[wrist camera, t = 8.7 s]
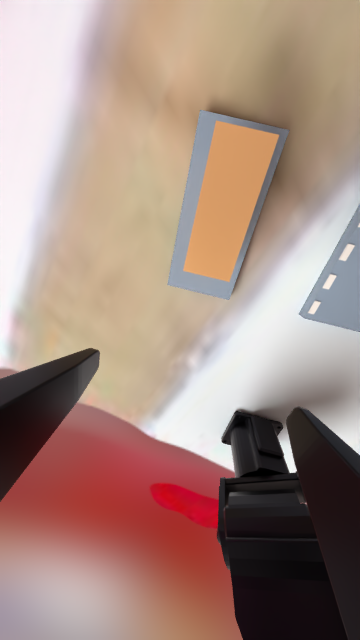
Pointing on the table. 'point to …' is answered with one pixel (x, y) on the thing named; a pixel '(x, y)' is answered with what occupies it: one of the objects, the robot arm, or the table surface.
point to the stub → (222, 201)
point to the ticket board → (339, 284)
